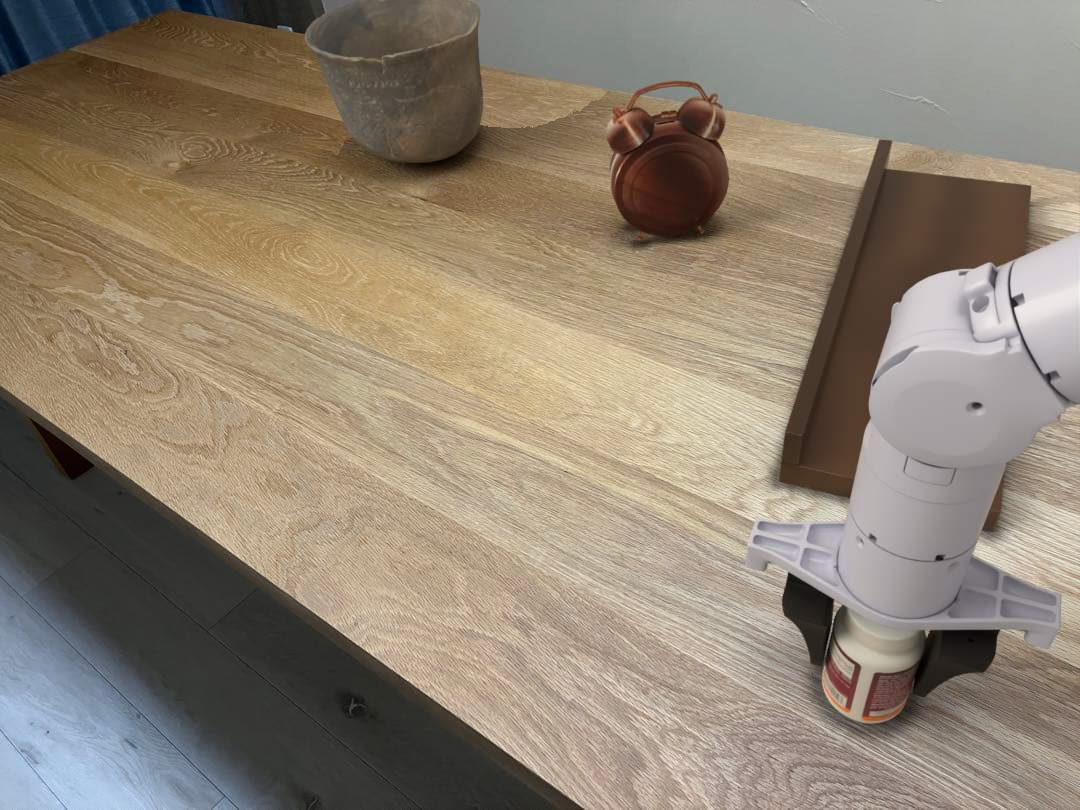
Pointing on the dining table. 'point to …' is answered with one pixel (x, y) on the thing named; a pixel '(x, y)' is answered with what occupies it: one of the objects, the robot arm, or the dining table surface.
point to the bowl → (403, 74)
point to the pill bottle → (870, 667)
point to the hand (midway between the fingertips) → (869, 665)
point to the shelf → (889, 303)
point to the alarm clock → (668, 163)
